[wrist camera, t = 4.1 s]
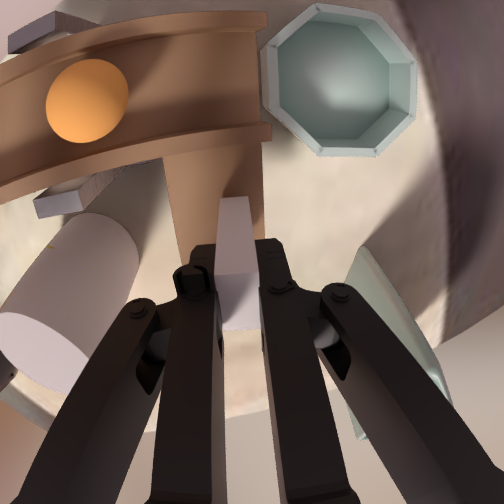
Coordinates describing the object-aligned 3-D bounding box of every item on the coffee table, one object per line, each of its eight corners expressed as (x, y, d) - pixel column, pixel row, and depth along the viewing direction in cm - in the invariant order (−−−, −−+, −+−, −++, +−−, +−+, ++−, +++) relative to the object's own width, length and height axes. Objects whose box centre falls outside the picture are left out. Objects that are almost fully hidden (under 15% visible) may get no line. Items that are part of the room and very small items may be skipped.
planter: (289, 285, 27) (344, 506, 10) (364, 243, 25) (480, 444, 9) (345, 362, 35) (388, 499, 18) (399, 333, 33) (459, 466, 17)
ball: (100, 133, 12) (40, 157, 9) (92, 66, 10) (28, 80, 7) (150, 126, 11) (82, 151, 8) (142, 46, 9) (69, 52, 6)
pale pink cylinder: (60, 203, 21) (-22, 293, 10) (145, 226, 23) (97, 341, 12) (60, 276, 24) (9, 371, 14) (134, 298, 26) (103, 407, 16)
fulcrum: (94, 170, 20) (27, 230, 11) (77, 44, 14) (-8, 37, 6) (153, 160, 20) (106, 217, 12) (140, 25, 14) (77, -9, 6)
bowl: (264, 146, 20) (270, 158, 17) (257, 13, 14) (263, 0, 12) (388, 146, 20) (412, 159, 17) (390, 28, 15) (415, 23, 12)
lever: (-13, 311, 13) (-25, 339, 11) (-79, 126, 6) (-105, 137, 4) (260, 245, 19) (278, 270, 16) (249, 21, 11) (271, 9, 9)
